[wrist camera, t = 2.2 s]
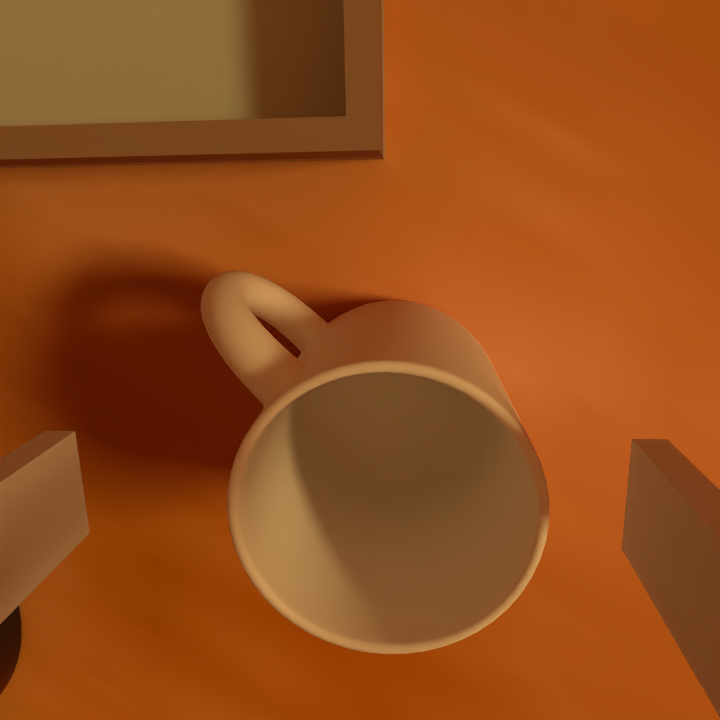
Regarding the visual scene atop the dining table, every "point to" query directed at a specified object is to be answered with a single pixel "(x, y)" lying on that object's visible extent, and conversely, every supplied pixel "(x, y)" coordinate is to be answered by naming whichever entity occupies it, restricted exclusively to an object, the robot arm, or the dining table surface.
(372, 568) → the mug
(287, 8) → the shallow square tray
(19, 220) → the dining table surface
